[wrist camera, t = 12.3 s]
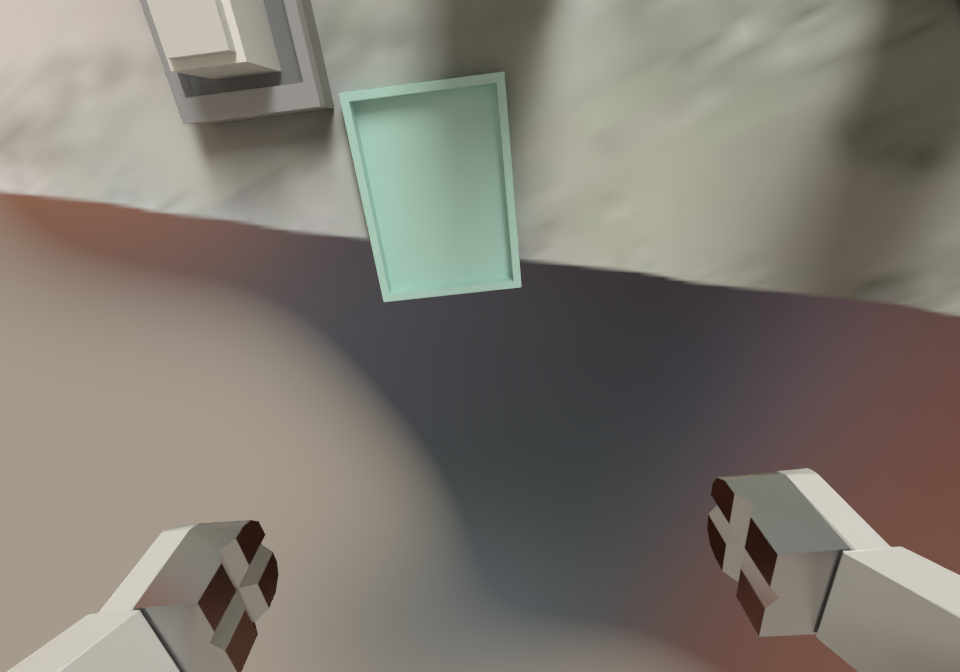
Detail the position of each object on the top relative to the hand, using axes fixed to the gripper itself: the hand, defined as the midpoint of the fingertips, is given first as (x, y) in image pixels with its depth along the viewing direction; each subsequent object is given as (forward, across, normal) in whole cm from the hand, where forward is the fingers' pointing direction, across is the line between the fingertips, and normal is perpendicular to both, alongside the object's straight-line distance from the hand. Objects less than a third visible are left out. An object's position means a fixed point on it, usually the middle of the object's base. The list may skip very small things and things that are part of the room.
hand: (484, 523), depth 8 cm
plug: (+29, +14, -14) cm, 35 cm away
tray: (+31, +3, -2) cm, 31 cm away
